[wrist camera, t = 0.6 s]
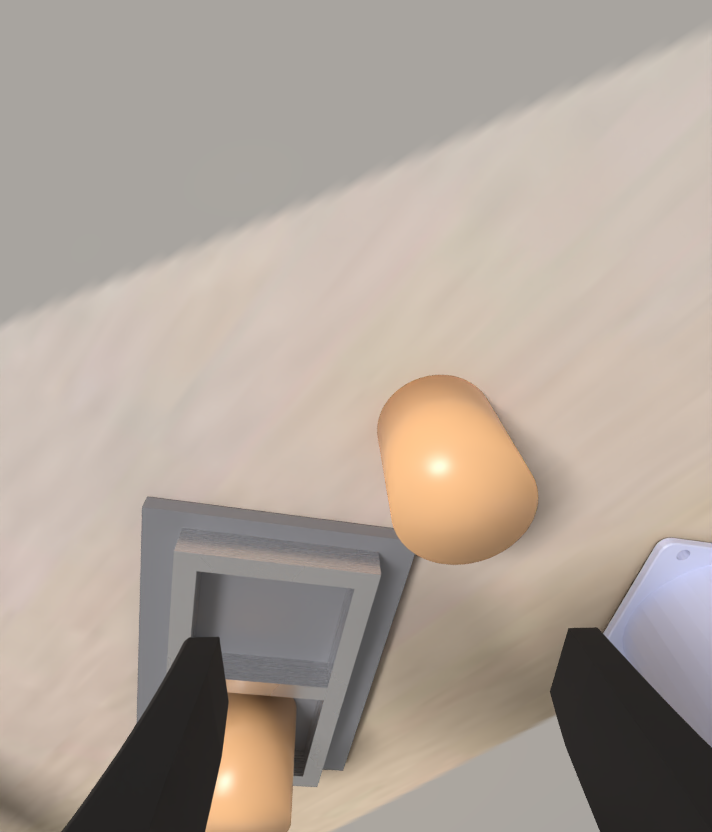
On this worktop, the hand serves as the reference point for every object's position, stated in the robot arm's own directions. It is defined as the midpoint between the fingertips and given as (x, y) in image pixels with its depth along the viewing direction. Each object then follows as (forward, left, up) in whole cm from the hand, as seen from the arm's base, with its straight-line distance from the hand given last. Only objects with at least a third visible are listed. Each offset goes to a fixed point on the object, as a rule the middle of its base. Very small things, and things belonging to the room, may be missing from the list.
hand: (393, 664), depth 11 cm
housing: (+2, +11, -9) cm, 14 cm away
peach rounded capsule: (-2, -1, -9) cm, 9 cm away
